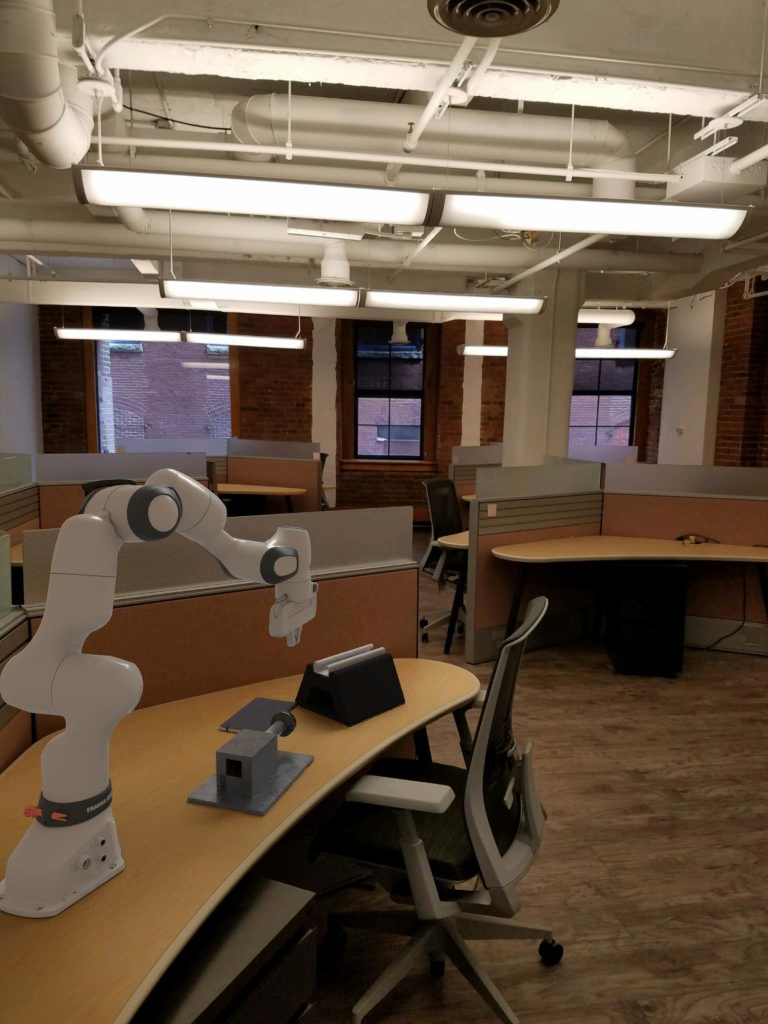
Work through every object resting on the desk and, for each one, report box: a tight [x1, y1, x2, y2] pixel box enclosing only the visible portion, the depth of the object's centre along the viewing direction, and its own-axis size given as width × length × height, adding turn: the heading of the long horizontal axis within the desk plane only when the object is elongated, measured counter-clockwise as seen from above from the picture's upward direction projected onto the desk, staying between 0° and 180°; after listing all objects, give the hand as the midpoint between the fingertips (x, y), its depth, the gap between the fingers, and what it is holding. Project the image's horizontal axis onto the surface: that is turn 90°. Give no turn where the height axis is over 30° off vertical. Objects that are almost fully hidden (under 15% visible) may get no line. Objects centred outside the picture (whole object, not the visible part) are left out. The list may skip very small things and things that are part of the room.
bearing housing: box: [186, 729, 315, 817], centre depth 159 cm, size 26×18×10 cm
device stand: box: [294, 643, 406, 728], centre depth 203 cm, size 22×22×15 cm
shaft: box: [241, 710, 297, 762], centre depth 165 cm, size 20×6×6 cm, turn 162°
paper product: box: [219, 697, 298, 734], centre depth 194 cm, size 13×2×21 cm
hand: (293, 644), depth 177 cm, fingers closed
